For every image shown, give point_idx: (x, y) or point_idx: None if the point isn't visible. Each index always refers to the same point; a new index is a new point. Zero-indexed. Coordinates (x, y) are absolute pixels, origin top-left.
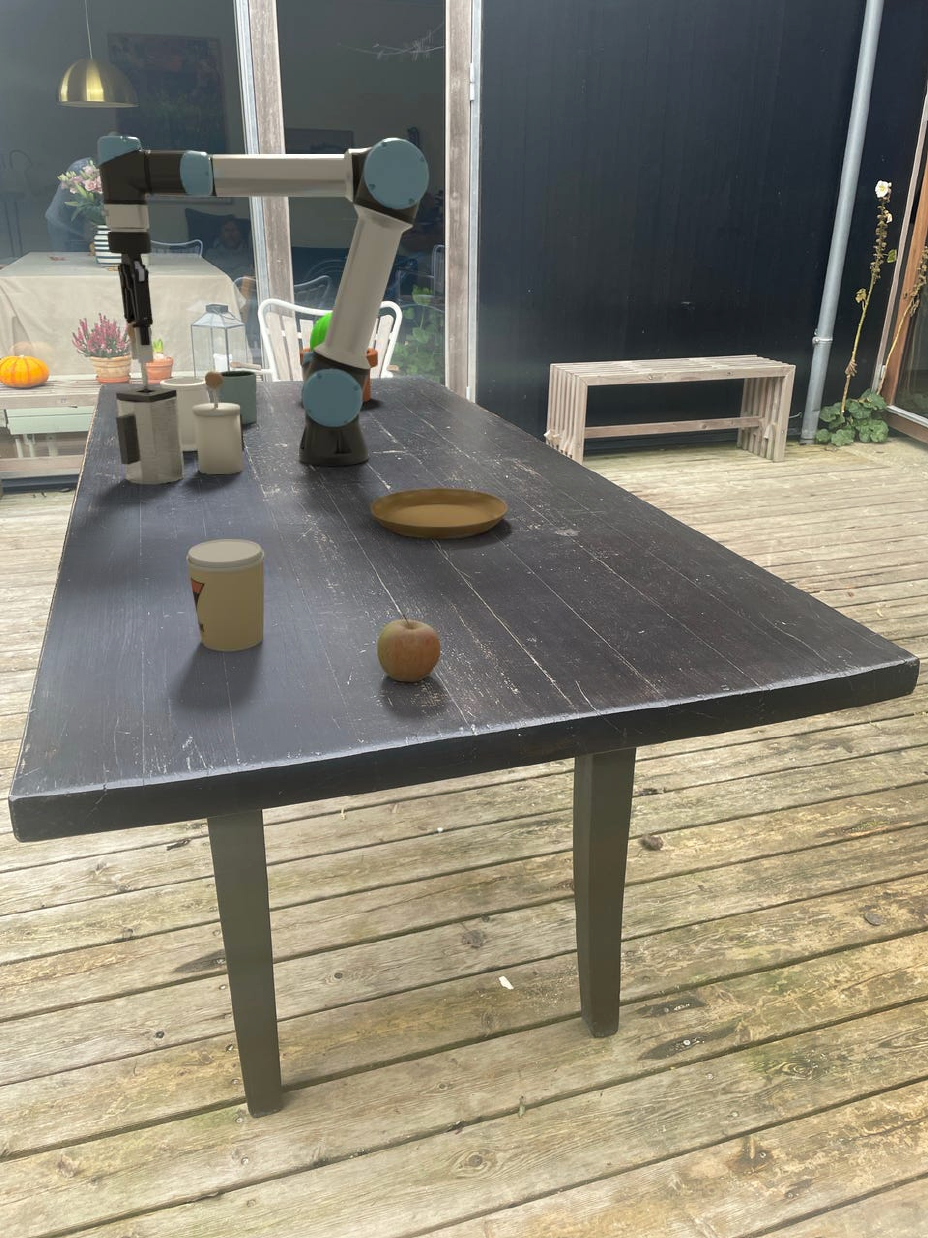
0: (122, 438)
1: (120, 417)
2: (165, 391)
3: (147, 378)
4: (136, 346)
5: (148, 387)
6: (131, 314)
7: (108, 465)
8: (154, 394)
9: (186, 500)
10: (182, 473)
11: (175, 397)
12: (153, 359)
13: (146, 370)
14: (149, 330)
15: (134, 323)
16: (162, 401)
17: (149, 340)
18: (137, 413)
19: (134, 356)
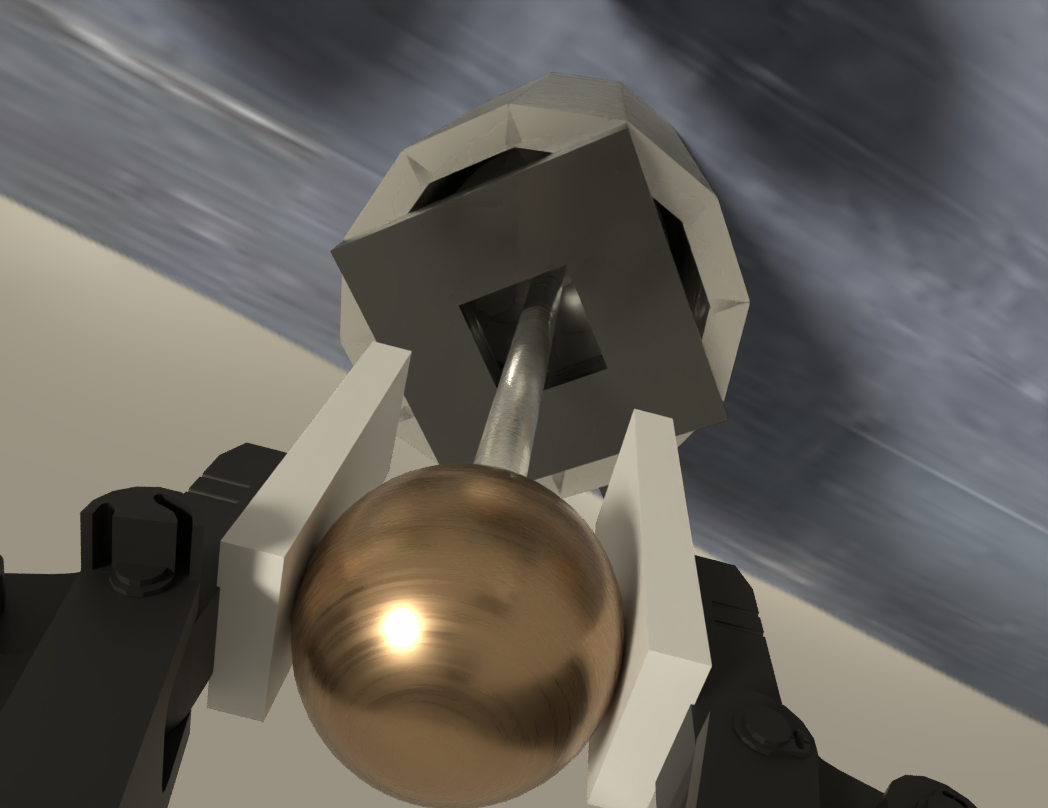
0: None
1: None
2: (634, 234)
3: (537, 358)
4: (360, 494)
5: (546, 335)
6: (161, 795)
7: (255, 260)
8: (693, 359)
9: (981, 298)
10: (668, 124)
11: (676, 164)
12: (672, 430)
13: (535, 388)
14: (700, 638)
15: (499, 799)
16: (744, 316)
17: (756, 604)
18: None
19: (385, 471)
